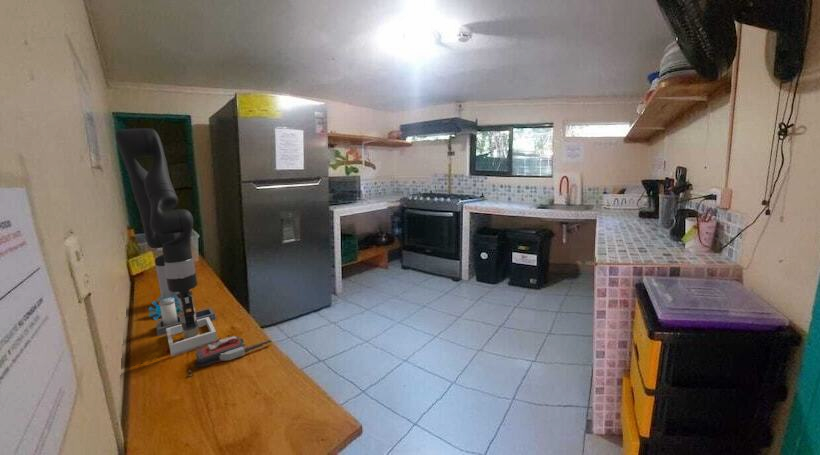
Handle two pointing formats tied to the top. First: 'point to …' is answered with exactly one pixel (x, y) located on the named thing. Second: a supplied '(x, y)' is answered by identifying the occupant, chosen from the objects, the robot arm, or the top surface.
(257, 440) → the top surface
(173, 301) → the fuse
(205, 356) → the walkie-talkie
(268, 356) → the top surface
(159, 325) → the fuse block
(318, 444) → the top surface
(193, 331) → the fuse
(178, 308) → the gear
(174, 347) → the parts tray
